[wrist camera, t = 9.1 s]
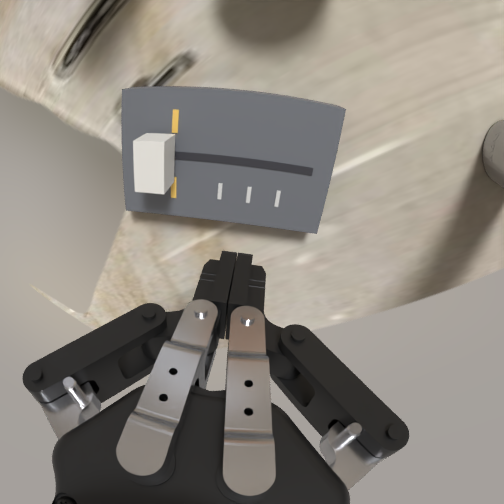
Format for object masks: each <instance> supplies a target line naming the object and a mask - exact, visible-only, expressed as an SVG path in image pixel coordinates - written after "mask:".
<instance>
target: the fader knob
mask: <svg viewBox="0 0 504 504" xmlns="http://www.w3.org/2000/svg"><path fill="white" fill-rule="evenodd" d="M174 157H175V134H161V133H146V134H144V135H142V136H140V137H139V138H137V139H135V140H134V141H133V161H134V185H135V192H143V193H155V194H165V193H166V191H167V190H168V189H169V188H170V186H171V185H172V184H173V183H174Z"/></svg>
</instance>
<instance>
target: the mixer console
mask: <svg viewBox="0 0 504 504" xmlns="http://www.w3.org/2000/svg"><path fill="white" fill-rule="evenodd" d="M345 111H346V109H344V108H342V107H340V106H337V105H332V104H328V103H323V102H318V101H313V100H308V99H303V98H297V97H291V96H285V95H278V94H271V93H264V92H256V91H247V90H236V89H224V88H209V87H182V86H154V87H132V88H127V89H122V160H123V179H124V192H125V205H126V210H128V211H137V212H147V213H157V214H166V215H175V216H184V217H192V218H201V219H209V220H217V221H226V222H234V223H241V224H249V225H257V226H264V227H272V228H279V229H287V230H294V231H301V232H308V233H315V234H317V231H318V227H319V223H320V220H321V216H322V212H323V208H324V204H325V200H326V196H327V192H328V188H329V184H330V180H331V175H332V171H333V167H334V162H335V158H336V153H337V149H338V144H339V140H340V135H341V130H342V126H343V121H344V116H345ZM146 133H161V134H175V157H174V183H173V184H172V185H171V186H170V188H169V189H168V190H167V191H166V193H165V194H155V193H143V192H135V185H134V161H133V141H134V140H135V139H137V138H139V137H140V136H142V135H144V134H146Z"/></svg>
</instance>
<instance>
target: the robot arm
mask: <svg viewBox="0 0 504 504" xmlns="http://www.w3.org/2000/svg"><path fill="white" fill-rule="evenodd" d="M483 163H484V167H485V170H486V172H487V174H488V176H489V177H490V178H491V179H492V180H493V181H495V182H496V183H497V184H499V185H500V186H501V187H503V188H504V120H501V121H498V122H497V123H495V124H494V125H493V126H492V127H491V128H490V130H489V131H488V133H487V135H486V138H485V141H484V146H483ZM252 256H253V255H251V254H244V253H238V256H237V253H236V252H228V251H222V254H221V257H220V261H219V260H212V259H210V260H209V261H208V262H207V263H206V264H205V265H204V267H203V270H202V274H201V276H200V280H199V282H198V285H197V288H196V291H195V294H194V297H193V300H192V301H191V302H190V303H188V304H187V305H186V307H185V309H183V310H180V311H173V312H165V310H164V309H163V307H161V306H160V305H158V304H154V303H147V304H143V305H141V306H139V307H137V308H135V309H133V310H131V311H129V312H128V313H126V314H124V315H122V316H120V317H118V318H116V319H114V320H112V321H111V322H109V323H107V324H105V325H103V326H101V327H99V328H97V329H95V330H94V331H92V332H90V333H88V334H86V335H84V336H82V337H80V338H79V339H77V340H75V341H73V342H71V343H69V344H67V345H65V346H64V347H62V348H60V349H58V350H56V351H54V352H52V353H50V354H49V355H47V356H45V357H43V358H41V359H39V360H37V361H36V362H34V363H32V364H30V365H29V366H28V367H27V368H26V369H25V371H24V374H23V383H24V385H25V387H26V388H27V389H28V390H29V392H30V393H31V394H32V395H33V397H34V398H35V399H36V401H38V403H39V404H40V405H41V406H42V408H43V410H44V413H45V414H46V417H47V419H48V421H49V423H50V425H51V427H52V428H53V430H54V432H55V434H56V436H57V438H58V441H57V443H56V445H55V447H54V450H53V455H52V463H53V468H54V473H55V480H56V493H55V498H54V501H53V503H52V504H350V496H349V492H348V490H349V489H350V488H351V487H353V486H354V485H355V484H356V483H357V482H358V481H359V480H361V479H362V478H363V477H364V476H365V475H366V474H367V473H368V472H369V471H370V470H371V469H372V468H373V467H375V466H376V465H377V464H378V463H379V462H380V461H382V460H384V459H386V458H387V457H389V456H391V455H392V454H394V453H395V452H397V451H398V450H400V449H401V448H403V447H404V446H405V445H406V444H407V442H408V439H409V430H408V428H407V426H406V424H405V423H404V422H403V421H402V420H401V419H400V418H399V417H398V416H397V415H396V414H395V413H394V412H392V410H391V409H390V408H388V407H387V406H386V405H385V404H384V403H383V402H382V401H381V400H380V399H379V398H378V397H377V396H376V395H375V394H374V393H373V392H372V391H371V390H370V389H369V388H368V387H367V386H366V385H365V384H364V383H363V382H362V381H361V380H360V379H359V378H358V377H357V376H356V375H355V374H354V373H353V372H352V371H351V370H349V368H348V367H346V365H345V364H344V363H342V362H341V361H340V360H339V359H338V358H337V357H336V356H335V355H334V354H333V353H332V352H331V351H330V350H329V349H328V348H327V347H326V346H325V345H324V344H323V343H322V342H321V341H320V340H319V339H318V338H317V337H316V336H315V335H314V334H313V333H312V332H311V331H310V330H309V329H308V328H306V327H304V326H302V325H296V324H294V325H289V326H287V327H285V328H281V327H278V326H276V325H274V324H272V323H271V322H269V321H268V320H267V318H266V317H265V315H264V298H265V281H266V273H265V271H264V269H263V267H262V266H256V265H251V264H252ZM236 259H237V261H236ZM226 325H227V326H226ZM225 331H226V339H228V340H229V342H228V354H227V369H226V385H225V390H222V391H208V390H206V385H207V381H208V377H209V374H210V371H211V367H212V364H213V360H214V357H215V354H216V348H217V346H218V341H219V338H221V339H224V336H225ZM148 374H150V376H149V378H148V380H147V383H146V385H143V386H140V387H138V388H136V389H135V390H133V391H131V392H130V393H128V394H127V395H125V396H124V397H122V398H121V399H119V400H118V401H116V402H114V403H113V404H111V405H110V406H108V407H107V408H105V409H104V410H102V411H101V412H100V409H101V403H102V402H104V401H106V400H107V399H109V398H111V397H112V396H114V395H116V394H117V393H119V392H121V391H122V390H124V389H126V388H127V387H129V386H131V385H132V384H134V383H135V382H137V381H139V380H140V379H142V378H143V377H145V376H147V375H148ZM270 376H271V378H272V380H273V381H274V382H275V383H276V384H277V385H278V387H279V388H280V389H281V390H282V392H283V393H284V394H285V395H286V396H287V397H288V399H289V400H290V401H291V402H292V403H293V404H294V406H295V407H296V408H297V409H298V410H299V411H300V412H301V414H302V415H303V416H304V417H305V418H306V419H307V420H308V422H309V423H310V424H311V425H312V426H313V427H314V428H315V429H316V430H317V432H318V433H319V434H320V435H321V436H322V438H321V441H320V450H321V453H322V454H323V456H324V457H325V459H326V461H325V460H324V459H323V458H322V457H321V456H320V454H319V453H318V452H317V451H316V450H315V448H314V447H313V446H312V445H311V444H310V442H309V441H308V440H307V439H306V437H305V436H304V435H303V434H302V433H301V431H300V430H299V429H298V427H297V426H296V425H295V424H294V423H293V421H292V420H291V419H290V417H289V416H288V415H287V414H286V413H285V412H284V411H283V410H282V409H281V408H279V407H278V406H276V405H275V404H273V403H271V392H270Z"/></svg>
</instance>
